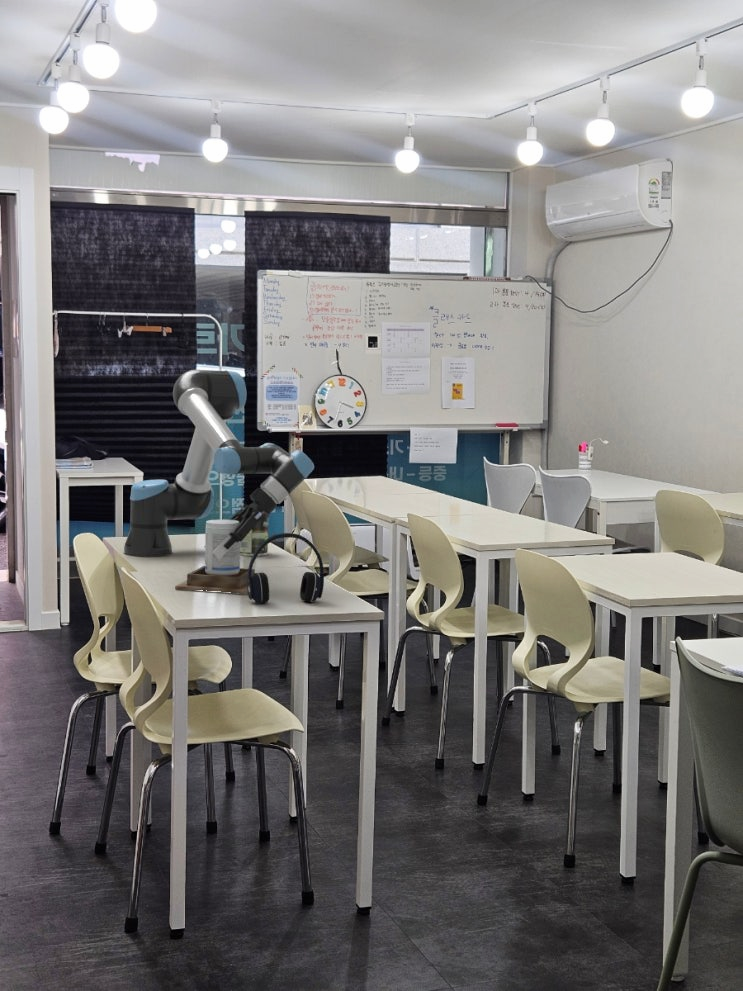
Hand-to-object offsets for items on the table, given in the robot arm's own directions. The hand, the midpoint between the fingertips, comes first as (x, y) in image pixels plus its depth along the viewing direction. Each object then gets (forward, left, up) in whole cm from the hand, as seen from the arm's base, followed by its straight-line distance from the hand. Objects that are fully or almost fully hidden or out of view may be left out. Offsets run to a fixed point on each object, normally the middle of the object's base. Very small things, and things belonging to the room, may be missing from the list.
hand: (211, 552), depth 326 cm
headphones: (+25, -14, -10) cm, 30 cm away
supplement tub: (+3, +2, -6) cm, 7 cm away
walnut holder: (+3, +2, -9) cm, 10 cm away
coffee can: (-4, +61, -10) cm, 62 cm away
